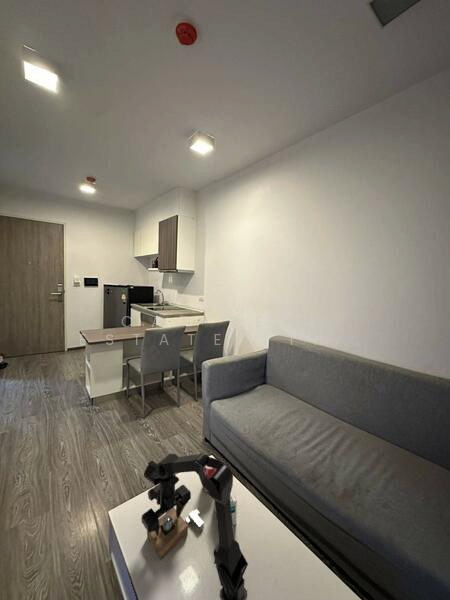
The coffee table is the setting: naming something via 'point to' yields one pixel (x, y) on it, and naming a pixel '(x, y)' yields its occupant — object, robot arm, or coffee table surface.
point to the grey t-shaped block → (195, 520)
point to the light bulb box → (232, 507)
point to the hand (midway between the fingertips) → (167, 525)
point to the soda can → (208, 473)
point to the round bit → (167, 524)
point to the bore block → (169, 541)
